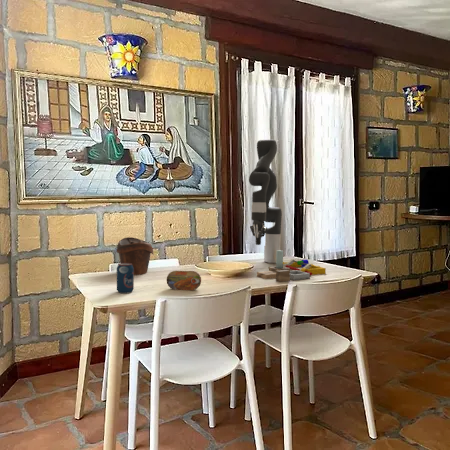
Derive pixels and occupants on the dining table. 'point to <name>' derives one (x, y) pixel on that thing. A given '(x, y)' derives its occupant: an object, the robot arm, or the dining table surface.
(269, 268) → the socket block
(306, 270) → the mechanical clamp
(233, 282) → the dining table surface
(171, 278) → the tin
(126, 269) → the soda can
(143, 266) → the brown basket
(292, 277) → the tray
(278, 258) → the dowel
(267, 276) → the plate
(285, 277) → the bench dog
